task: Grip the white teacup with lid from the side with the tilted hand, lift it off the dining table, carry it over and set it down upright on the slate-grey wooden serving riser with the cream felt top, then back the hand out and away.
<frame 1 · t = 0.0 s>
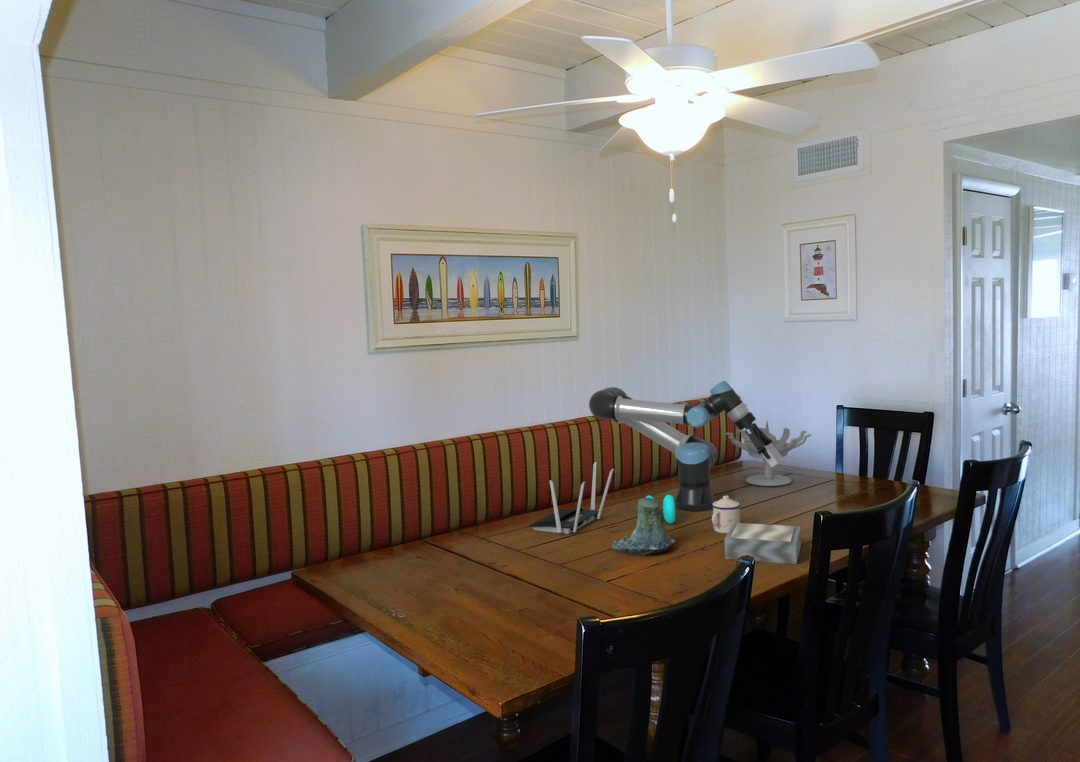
hand: (777, 461, 287), 15 cm above the table, tool tilted 35°, fingers open, 13 cm apart
tree stump: (643, 548, 239), on the table
donuts: (660, 523, 266), on the table
wireless router: (572, 526, 268), on the table
serving riser: (763, 552, 228), on the table
teacup with lid: (724, 531, 253), on the table
candelabra: (768, 483, 321), on the table
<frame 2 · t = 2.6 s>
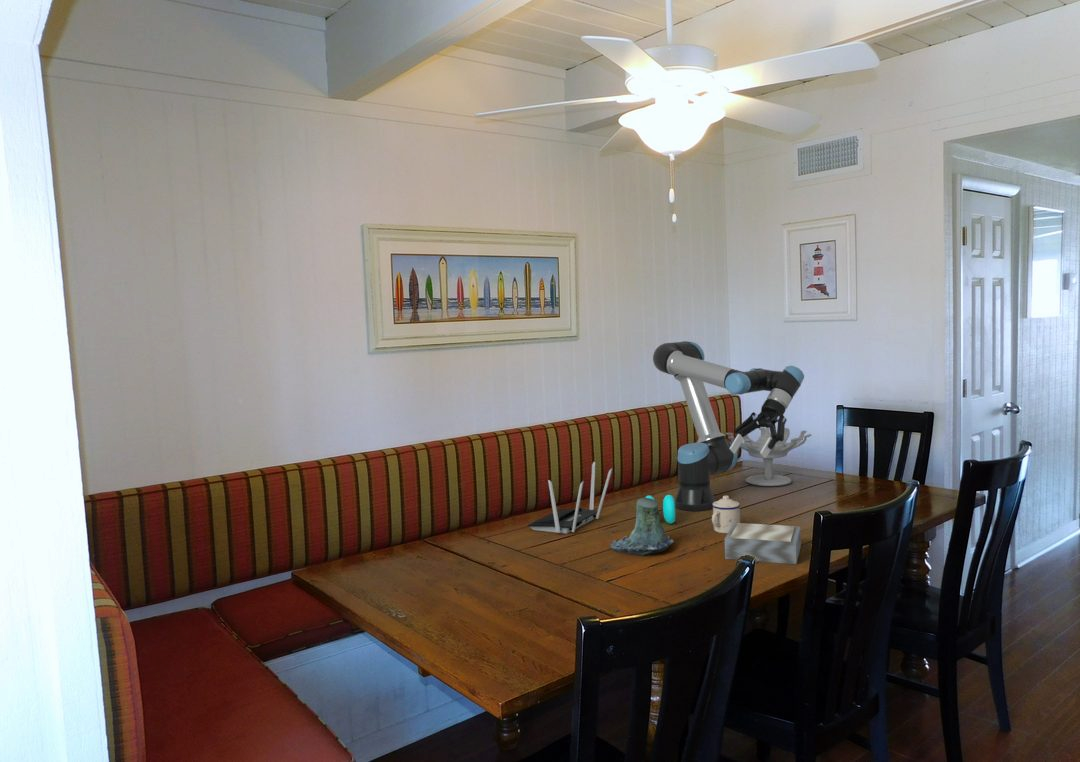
hand: (747, 453, 256), 25 cm above the table, tool tilted 45°, fingers open, 13 cm apart
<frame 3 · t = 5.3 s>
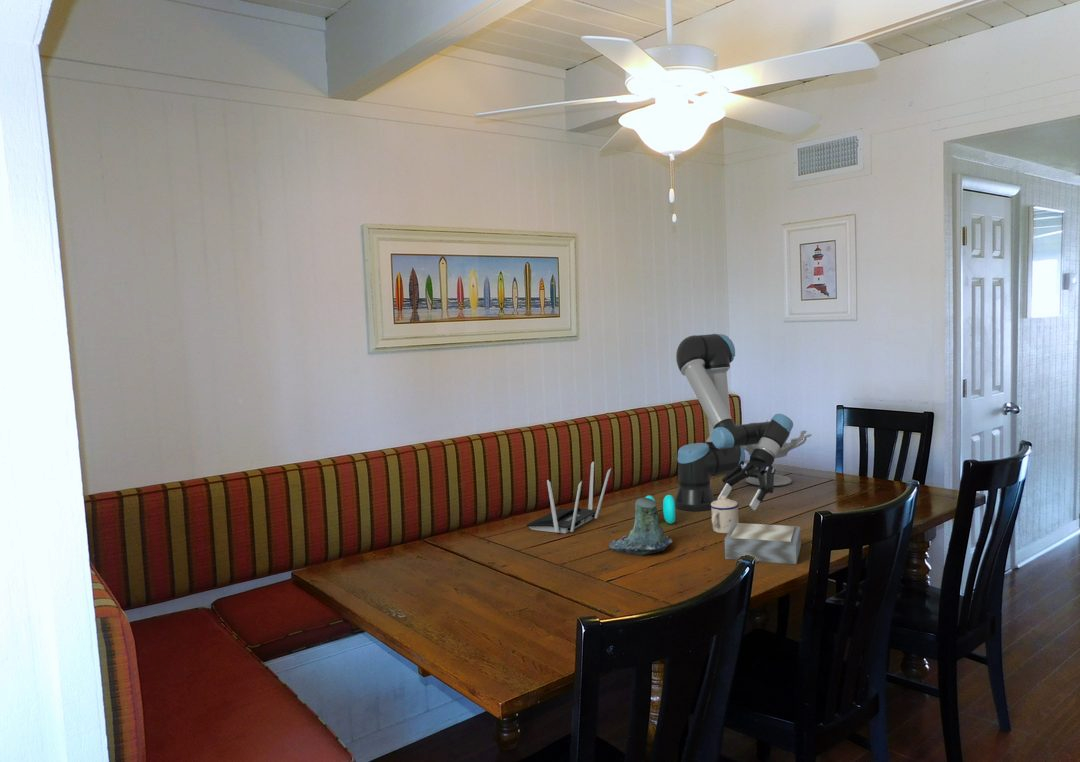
hand: (735, 505, 252), 9 cm above the table, tool tilted 45°, fingers open, 13 cm apart
teacup with lid: (723, 531, 252), on the table, touching gripper
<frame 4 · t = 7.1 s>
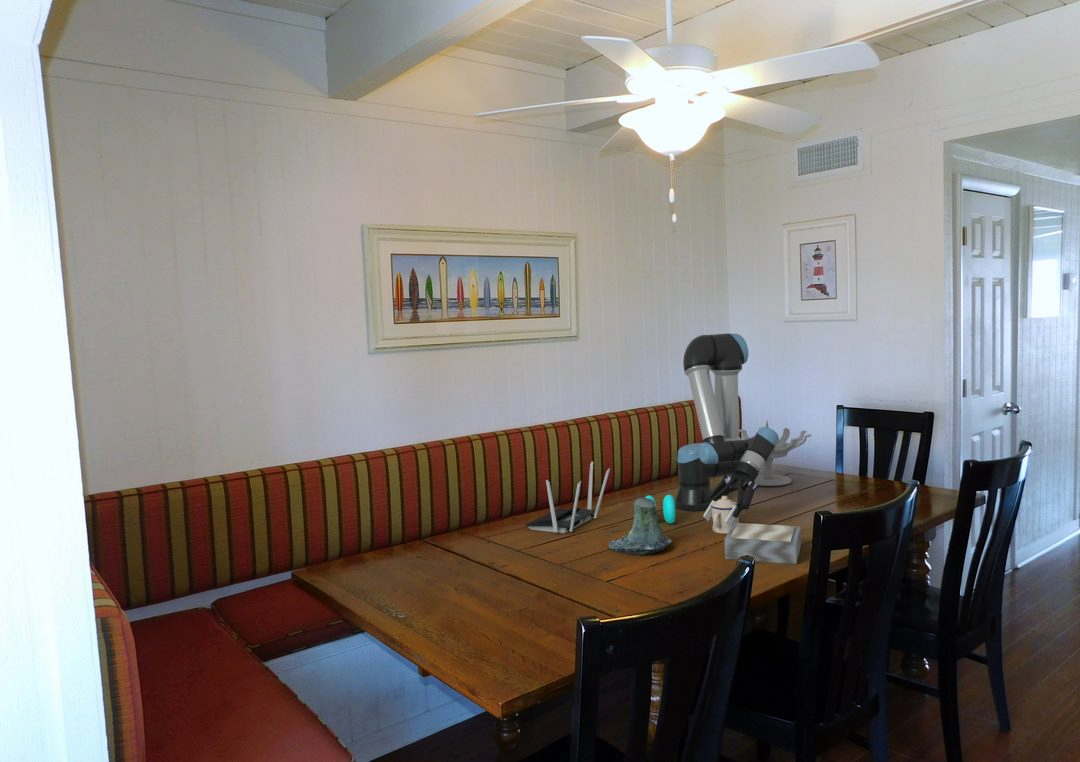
hand: (716, 521, 251), 4 cm above the table, tool tilted 45°, fingers closed on teacup with lid, 9 cm apart
teacup with lid: (723, 532, 252), on the table, touching gripper
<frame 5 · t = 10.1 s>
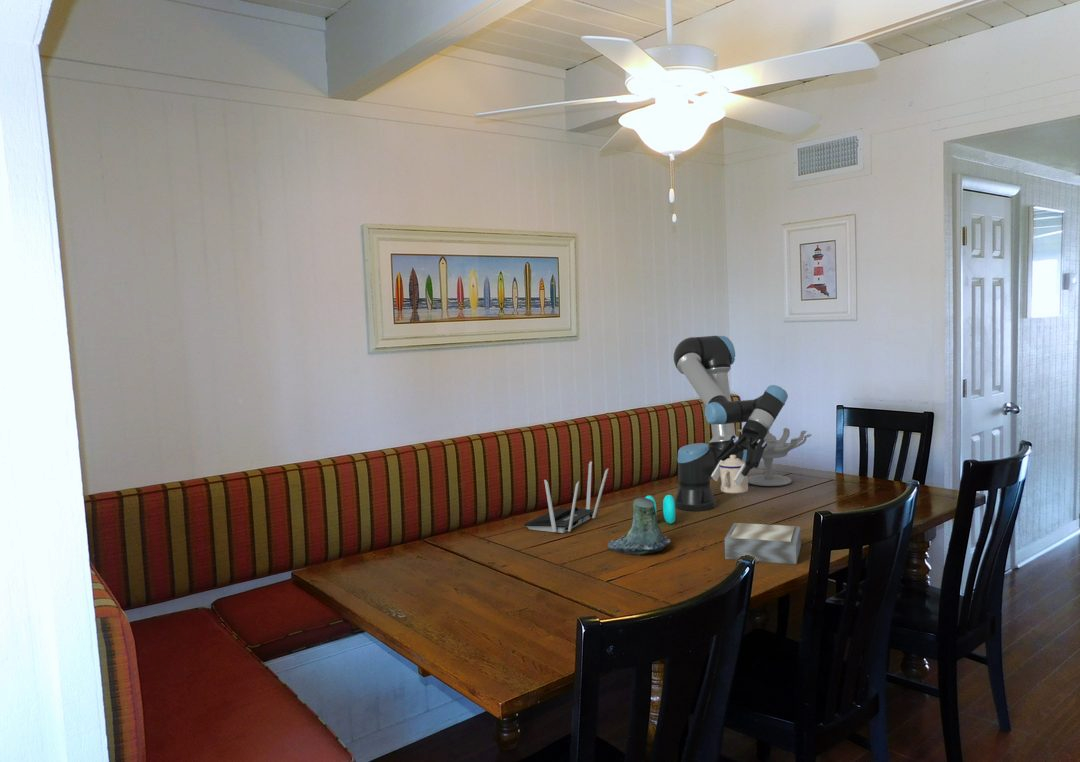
hand: (725, 480, 243), 19 cm above the table, tool tilted 45°, fingers closed on teacup with lid, 9 cm apart
teacup with lid: (732, 492, 244), point 15 cm above the table, touching gripper
when the fingers open (12 cm above the table, at t = 13.0 s): teacup with lid drops 1 cm, resting on serving riser.
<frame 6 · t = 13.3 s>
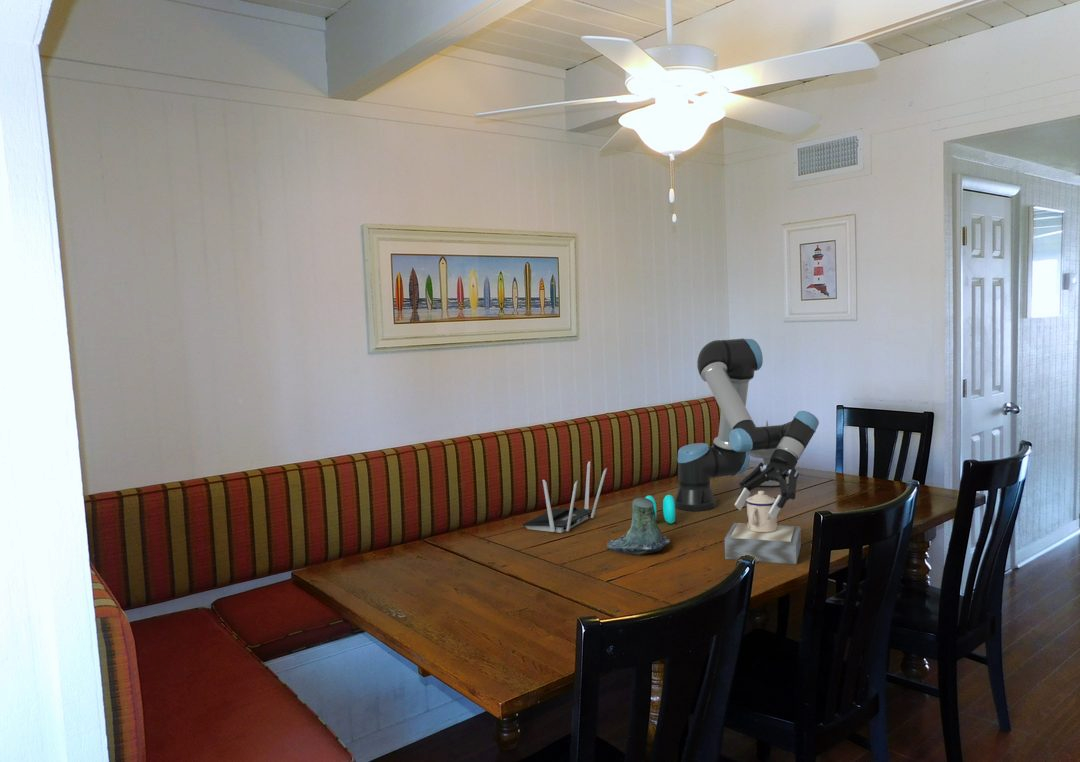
hand: (754, 511, 227), 13 cm above the table, tool tilted 45°, fingers open, 13 cm apart
teacup with lid: (760, 530, 229), point 6 cm above the table, touching serving riser
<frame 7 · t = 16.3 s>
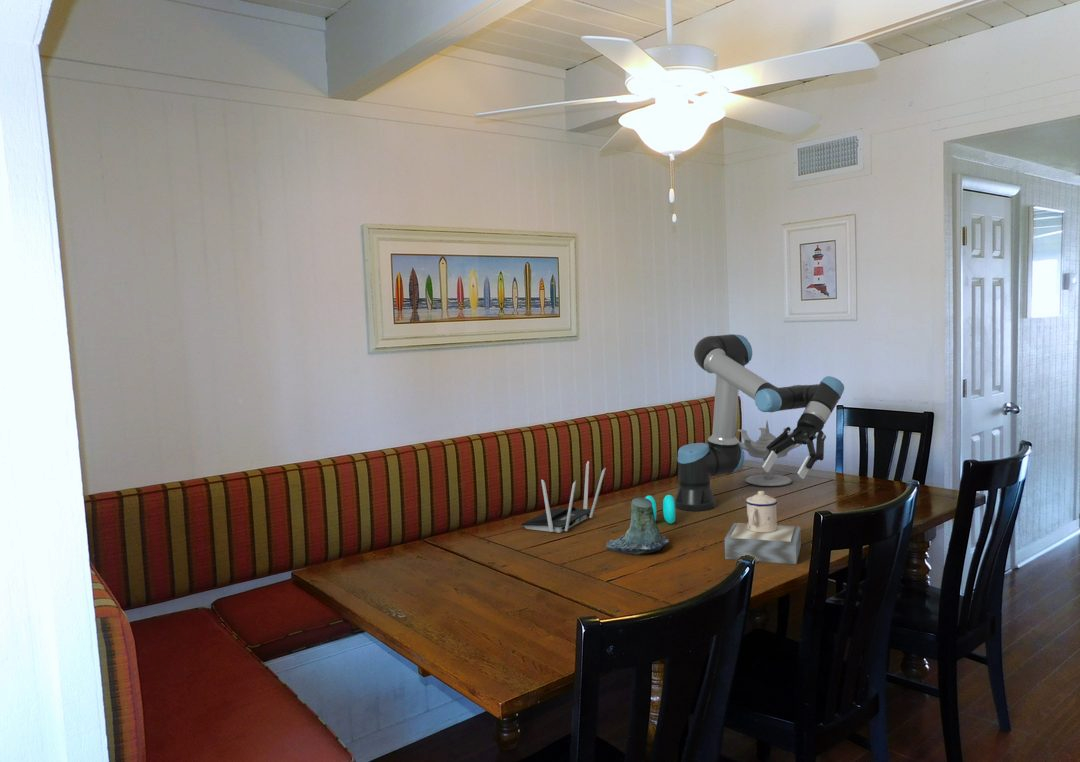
hand: (782, 472, 233), 22 cm above the table, tool tilted 45°, fingers open, 13 cm apart
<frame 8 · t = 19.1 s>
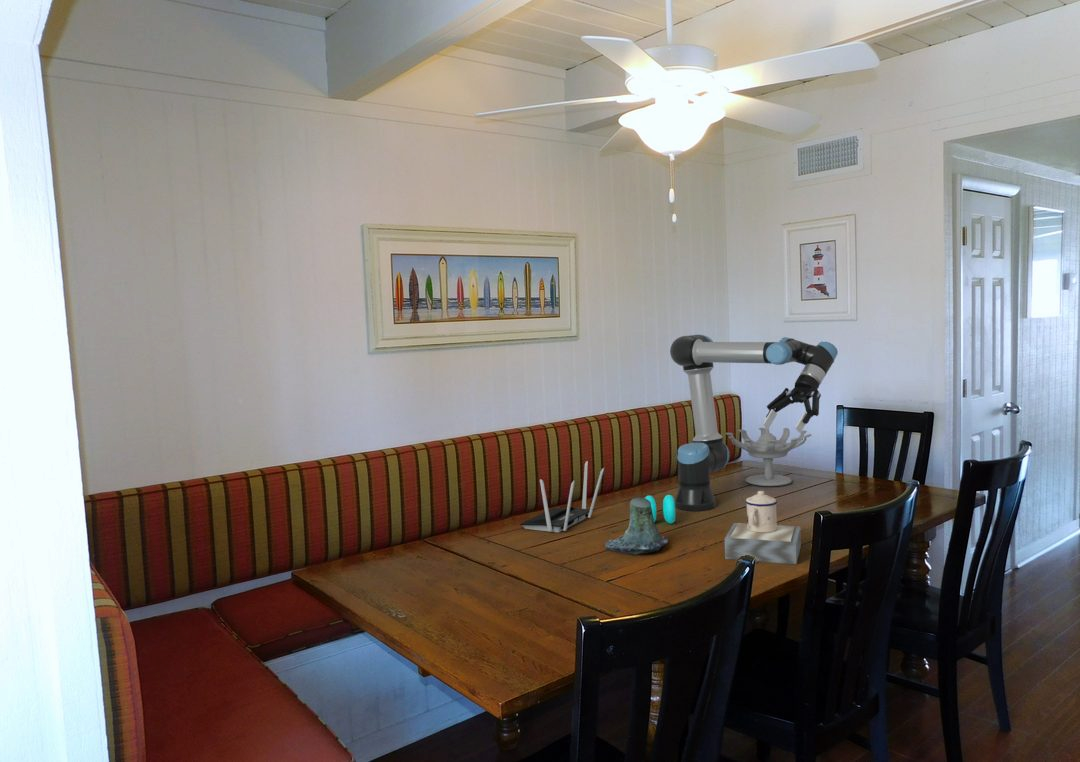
hand: (781, 428, 256), 33 cm above the table, tool tilted 45°, fingers open, 13 cm apart
at the end: teacup with lid inside the target area on the serving riser (1.2 cm from its centre), point 6.3 cm above the serving riser's base; teacup with lid tilted 0°; the gripper is holding nothing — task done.
